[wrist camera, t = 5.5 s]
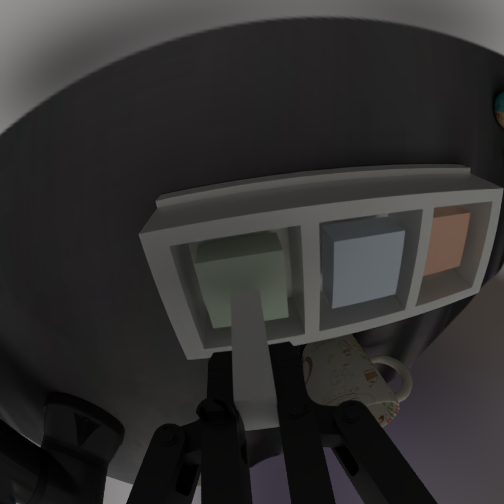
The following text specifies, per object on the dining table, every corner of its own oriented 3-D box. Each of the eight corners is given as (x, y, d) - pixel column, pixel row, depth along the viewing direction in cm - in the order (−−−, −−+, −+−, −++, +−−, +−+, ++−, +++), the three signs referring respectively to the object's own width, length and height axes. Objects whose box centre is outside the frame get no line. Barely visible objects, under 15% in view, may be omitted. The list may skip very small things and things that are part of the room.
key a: (214, 305, 20) (213, 328, 18) (198, 244, 17) (194, 263, 15) (282, 295, 20) (288, 317, 18) (276, 232, 17) (282, 250, 15)
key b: (322, 288, 20) (332, 308, 18) (321, 225, 17) (334, 241, 15) (381, 276, 20) (395, 293, 18) (387, 216, 17) (405, 230, 15)
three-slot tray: (195, 314, 24) (189, 364, 19) (160, 194, 19) (136, 225, 13) (445, 266, 24) (476, 296, 19) (459, 164, 19) (503, 182, 14)
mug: (296, 324, 25) (322, 414, 16) (404, 312, 26) (448, 379, 17) (287, 375, 29) (302, 452, 20) (381, 361, 30) (411, 423, 21)
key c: (404, 262, 21) (418, 277, 19) (410, 207, 18) (428, 218, 16) (444, 253, 21) (459, 265, 19) (452, 202, 18) (470, 212, 16)
